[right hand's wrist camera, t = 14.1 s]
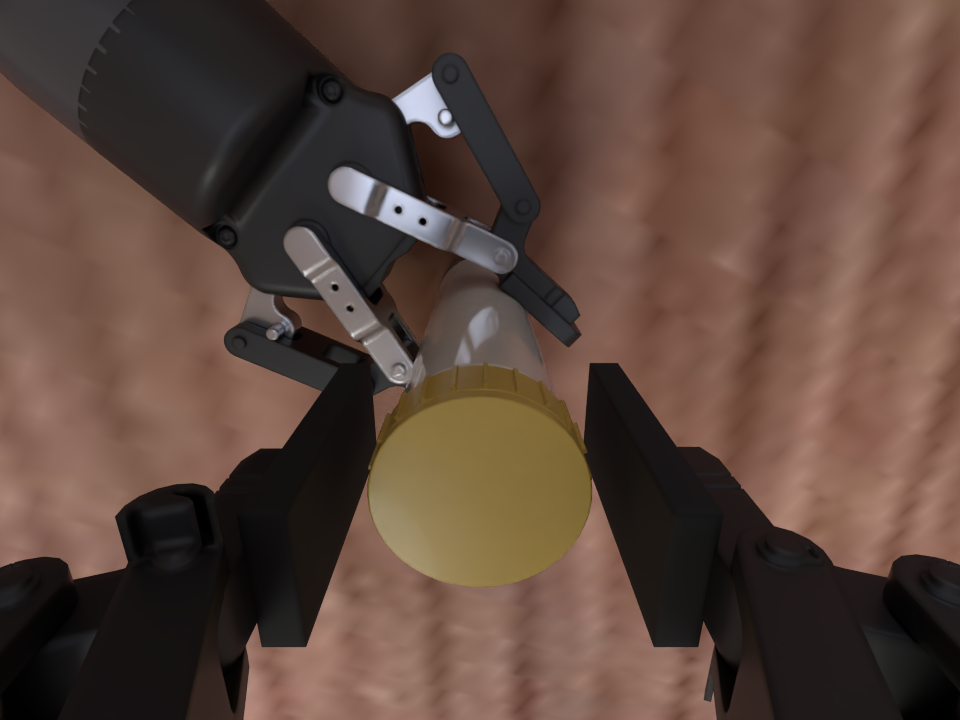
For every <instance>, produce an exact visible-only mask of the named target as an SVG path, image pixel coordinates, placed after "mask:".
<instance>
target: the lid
mask: <svg viewBox="0 0 960 720" xmlns="http://www.w3.org/2000/svg"><path fill="white" fill-rule="evenodd" d="M376 443H377V444H376V447H375V450H374V452H373V455H372V458H371V461H370V463H369V467H368V470H370V473H369V479H368V493H367V497H368V504H369V510H370V513H371V516H372V520H373V522H374V524H375V527H376V529H377V531H378V533H379V534H380V536H381V538H382V539H383V541H384V542H385V544H386V545H387V546H388V547H389V548H390V549H391V551H392V552H393V553H394V554H395V555H396V556H398V557H399V558H400V559H401V560H402V561H403V562H405V563H406V564H407V565H409V566H410V567H412V568H413V569H415V570H417V571H418V572H420V573H422V574H424V575H426V576H429V577H431V578H433V579H436V580H439V581H442V582H446V583H449V584H454V585H460V586H468V587H492V586H499V585H506V584H510V583H514V582H518V581H521V580H523V579H526V578H529V577H531V576H533V575H535V574H537V573H539V572H541V571H543V570H545V569H546V568H548V567H549V566H551V565H552V564H554V563H555V562H556V561H557V560H558V559H560V558H561V557H562V556H563V555H564V554H565V553H566V552H567V551H568V550H569V549H570V548H571V547H572V545H573V544H574V543H575V541H576V540H577V538H578V537H579V535H580V533H581V532H582V530H583V528H584V526H585V523H586V521H587V518H588V515H589V512H590V506H591V501H592V483H591V480H592V475H591V472H590V469H589V467H588V464H587V461H586V458H585V456H584V454H585V453H587V450H586V447H585V444H584V442H583V439H582V436H581V434H580V431H579V428H578V426H577V423H572V421H571V418H570V415H569V412H568V409H567V407H566V404H565V402H564V401H563V399H562V400H560V401H559V400H558V399H557V398H556V397H555V395H554V394H552V393H551V392H550V391H549V390H548V389H547V388H546V386H545V383H544V382H543V381H542V380H541V381H540V382H539V383H538V382H537V381H535V380H534V379H532V378H530V377H528V376H526V375H524V374H522V373H519V370H518V369H517V368H513V370H510V369H506V368H501V367H496V366H488V363H487V362H483V365H477V366H464V367H458V365H453V367H452V369H450V370H447V371H443V372H441V373H438V374H436V375H434V376H431V377H430V376H429V375H426V376H425V377H424V380H423V382H421V383H419V384H418V385H417V386H415V387H414V388H413V389H412V390H410V391H409V392H408V393H406V392H405V391H404V392H403V393H402V395H401V397H400V400H399V403H398V404H397V406H396V407H395V409H394V410H393V412H392V414H389V413H387V415H386V418H385V420H384V423H383V425H382V428H381V431H380V433H379V436H378V439H377V441H376Z"/></svg>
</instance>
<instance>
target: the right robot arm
mask: <svg viewBox="0 0 960 720" xmlns="http://www.w3.org/2000/svg"><path fill="white" fill-rule="evenodd" d="M584 444H585V447H586V450H587V453H585V454H584V456H585V458H586V461H587V464H588V467H589V469H590V472H591V475H592V478H593V480H594V483H595V486H596V489H597V491H598V494H599V497H600V500H601V502H602V505H603V508H604V511H605V513H606V516H607V519H608V522H609V524H610V527H611V530H612V533H613V535H614V538H615V541H616V544H617V547H618V549H619V552H620V555H621V558H622V560H623V563H624V566H625V569H626V571H627V574H628V577H629V580H630V582H631V585H632V588H633V591H634V593H635V596H636V599H637V602H638V604H639V607H640V610H641V613H642V615H643V618H644V621H645V624H646V626H647V629H648V632H649V635H650V637H651V640H652V643H653V646H654V647H698V645H699V640H700V635H701V630H702V625H703V621H704V623H705V625H706V627H707V629H708V631H709V633H710V635H711V637H712V639H713V641H714V643H715V645H714V650H713V655H712V660H711V664H710V669H709V674H708V679H707V684H706V688H705V695H704V700H706V701H710V702H711V699H712V695H713V690H714V699H715V708H716V717H717V720H960V565H959V564H956V563H953V562H951V561H946V560H944V559H940V558H936V557H930V556H924V555H917V554H915V555H906V556H901V557H899V558H898V559H897V560H895V561H894V562H893V564H892V567H891V570H890V573H889V576H888V578H887V577H882V576H877V575H873V574H868V573H863V572H858V571H854V570H849V569H844V568H841V567H837V566H834V565H833V563H832V561H831V560H830V558H829V557H828V556H827V554H826V553H825V552H824V550H823V549H821V548H820V547H819V546H817V545H816V544H815V543H813V542H812V541H811V540H809V539H807V538H805V537H803V536H801V535H799V534H797V533H795V532H793V531H790V530H786V529H782V528H779V527H775V526H773V524H772V523H771V522H770V521H769V520H768V518H767V517H766V516H765V515H764V514H763V512H762V511H761V510H760V509H759V507H758V506H757V505H756V504H755V503H754V501H753V500H752V499H751V498H750V496H749V495H748V494H747V493H746V492H745V490H744V489H741V485H740V484H739V483H738V482H737V481H736V479H735V478H734V477H731V473H730V472H729V471H728V470H727V468H726V467H725V466H724V465H723V463H722V462H721V461H720V460H719V459H718V458H716V457H715V456H713V455H711V454H710V453H708V452H707V451H705V450H704V449H702V448H700V447H676V445H675V444H674V442H673V441H672V440H671V438H670V437H669V435H668V434H667V432H666V431H665V430H664V428H663V427H662V425H661V424H660V423H659V421H658V420H657V418H656V417H655V415H654V414H653V413H652V411H651V410H650V408H649V407H648V405H647V404H646V403H645V401H644V400H643V398H642V397H641V396H640V394H639V393H638V391H637V390H636V388H635V387H634V386H633V384H632V383H631V381H630V380H629V378H628V377H627V376H626V374H625V373H624V371H623V370H622V369H621V367H620V366H619V364H618V363H590V367H589V380H588V393H587V406H586V418H585V431H584ZM375 447H376V431H375V418H374V406H373V393H372V380H371V367H370V363H342V364H341V366H340V367H339V369H338V370H337V371H336V373H335V374H334V376H333V377H332V379H331V380H330V381H329V383H328V384H327V386H326V387H325V388H324V390H323V391H322V393H321V394H320V396H319V397H318V398H317V400H316V401H315V403H314V404H313V405H312V407H311V408H310V410H309V411H308V413H307V414H306V415H305V417H304V418H303V420H302V421H301V423H300V424H299V425H298V427H297V428H296V430H295V431H294V432H293V434H292V435H291V437H290V438H289V440H288V441H287V442H286V444H285V445H284V447H283V448H282V449H259V450H258V451H256V452H255V453H253V454H252V455H250V456H248V457H247V458H245V459H244V460H242V461H241V462H240V463H239V464H238V466H237V467H236V468H235V469H234V471H233V472H232V473H231V474H230V475H229V478H227V479H226V480H225V482H224V483H223V484H222V485H221V487H220V490H219V491H216V493H215V494H214V492H213V491H212V490H210V489H209V488H208V487H207V486H203V485H198V484H193V483H191V484H175V485H171V486H167V487H163V488H159V489H156V490H153V491H151V492H148V493H146V494H144V495H141V496H139V497H138V498H136V499H134V500H133V501H131V502H130V503H128V504H127V505H125V506H124V507H123V508H122V509H121V511H120V512H119V513H118V514H117V515H116V516H115V518H116V522H117V525H118V529H119V532H120V536H121V539H122V542H123V546H124V549H125V553H126V556H127V560H128V564H127V566H126V568H124V569H121V570H117V571H112V572H108V573H103V574H98V575H94V576H89V577H84V578H80V579H75V580H73V578H72V576H71V573H70V570H69V567H68V564H67V563H65V562H64V561H62V560H61V559H60V558H52V557H39V558H33V559H26V560H22V561H18V562H15V563H13V564H12V563H11V564H9V565H6V566H3V567H1V568H0V720H243V718H244V709H245V701H246V692H247V683H248V674H249V661H248V655H247V650H246V644H247V642H248V640H249V638H250V636H251V634H252V632H253V630H254V628H255V626H256V623H257V625H258V630H259V635H260V640H261V645H262V647H306V646H307V643H308V640H309V637H310V635H311V632H312V629H313V626H314V624H315V621H316V618H317V615H318V613H319V610H320V607H321V604H322V602H323V599H324V596H325V593H326V591H327V588H328V585H329V582H330V580H331V577H332V574H333V571H334V569H335V566H336V563H337V560H338V558H339V555H340V552H341V549H342V547H343V544H344V541H345V538H346V535H347V533H348V530H349V527H350V524H351V522H352V519H353V516H354V513H355V511H356V508H357V505H358V502H359V500H360V497H361V494H362V491H363V489H364V486H365V483H366V480H367V478H368V475H369V472H370V470H368V467H369V463H370V461H371V458H372V455H373V452H374V450H375Z"/></svg>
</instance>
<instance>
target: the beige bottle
mask: <svg viewBox="0 0 960 720" xmlns="http://www.w3.org/2000/svg"><path fill="white" fill-rule="evenodd" d="M483 362H487V363H488V366H496V367H501V368H506V369H510V370H513V368H517V369H518V370H519V373H522V374H524V375H526V376H528V377H530V378H532V379H534V380H535V381H537V382H538V383H539V382H540V381H541V380H542V381H543V382H544V383H545V386H546V388H547V389H548V390H549V391H550V392H551V393H552V394H554V395H555V397H556V398H557V395H556V392H555V389H554V386H553V383H552V380H551V377H550V374H549V372H548V369H547V366H546V363H545V360H544V357H543V354H542V351H541V348H540V345H539V342H538V339H537V336H536V333H535V330H534V327H533V324H532V321H531V318H530V315H529V312H528V311H526V310H525V309H524V308H523V307H522V306H521V305H520V304H519V303H518V302H517V301H516V300H514V299H513V298H512V297H511V296H510V295H509V294H507V293H506V292H505V291H504V290H503V289H502V288H501V287H500V283H499V277H498V276H497V275H496V274H495V273H493V272H492V271H490V270H488V269H486V268H484V267H482V266H480V265H478V264H475V263H473V262H471V261H469V260H467V259H465V260H463V261H461V262H459V263H457V264H456V265H454V266H453V267H452V268H451V269H450V270H449V271H448V272H447V273H446V275H445V276H444V278H443V280H442V282H441V285H440V287H439V290H438V293H437V296H436V299H435V302H434V305H433V308H432V311H431V314H430V317H429V320H428V323H427V326H426V329H425V332H424V335H423V338H422V341H421V344H420V347H419V350H418V353H417V356H416V359H415V362H414V365H413V368H412V371H411V373H410V376H409V379H408V382H407V385H406V388H405V392H406V393H408V392H409V391H410V390H412V389H413V388H414V387H415V386H417V385H418V384H419V383H421V382H423V380H424V377H425V376H426V375H429V376H430V377H431V376H434V375H436V374H438V373H441V372H443V371H447V370H450V369H452V367H453V365H458V367H464V366H477V365H483ZM557 399H558V398H557Z"/></svg>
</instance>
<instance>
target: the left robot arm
mask: <svg viewBox="0 0 960 720" xmlns="http://www.w3.org/2000/svg"><path fill="white" fill-rule="evenodd" d="M0 72H1V73H2V74H3V75H4V76H5V77H6V78H7V79H8V80H9V81H10V82H11V83H12V84H13V85H14V86H16V87H17V88H18V89H19V90H20V91H22V92H23V93H24V94H25V95H26V96H27V97H29V98H30V99H31V100H32V101H34V102H35V103H36V104H37V105H39V106H40V107H41V108H42V109H44V110H45V111H46V112H48V113H49V114H50V115H51V116H53V117H54V118H55V119H56V120H58V121H59V122H60V123H62V124H63V125H64V126H65V127H67V128H68V129H69V130H70V131H72V132H73V133H74V134H76V135H77V136H78V137H79V138H81V139H82V140H83V141H84V142H86V143H87V144H88V145H90V146H91V147H92V148H93V149H94V150H96V151H97V152H98V153H99V154H101V155H102V156H103V157H104V158H106V159H107V160H108V161H110V162H111V163H112V164H113V165H115V166H116V167H117V168H118V169H120V170H121V171H122V172H123V173H125V174H126V175H127V176H129V177H130V178H131V179H133V180H134V181H135V182H136V183H138V184H139V185H140V186H141V187H143V188H144V189H145V190H146V191H148V192H149V193H150V194H152V195H153V196H154V197H155V198H157V199H158V200H159V201H160V202H162V203H163V204H164V205H165V206H167V207H168V208H169V209H171V210H172V211H173V212H174V213H176V214H177V215H178V216H179V217H181V218H182V219H183V220H184V221H186V222H187V223H188V224H190V225H191V226H192V227H193V228H195V229H196V230H197V231H198V232H200V233H201V234H203V235H204V236H206V237H207V238H209V239H210V240H212V241H214V242H215V243H217V244H218V245H220V246H221V247H223V248H224V249H225V250H226V251H227V252H228V253H229V254H230V255H231V256H232V257H233V259H234V260H235V262H236V263H237V265H238V267H239V269H240V271H241V273H242V275H243V277H244V278H245V280H246V281H247V282H248V283H249V284H250V285H251V289H250V293H249V296H248V299H247V302H246V305H245V308H244V312H243V315H242V318H241V321H240V323H239V324H238V325H236V326H235V327H233V328H231V329H230V330H229V331H227V333H226V334H225V337H224V344H225V347H226V348H227V350H228V351H229V352H230V353H231V354H233V355H234V356H237V357H239V358H241V359H244V360H246V361H249V362H251V363H254V364H256V365H259V366H261V367H264V368H266V369H269V370H271V371H274V372H276V373H278V374H281V375H283V376H286V377H288V378H291V379H293V380H296V381H298V382H301V383H303V384H306V385H308V386H311V387H313V388H316V389H318V390H320V391H323V390H324V388H325V387H326V386H327V384H328V383H329V381H330V380H331V379H332V377H333V376H334V374H335V373H336V371H337V370H338V369H339V367H340V366H341V364H342V363H370V367H371V380H372V393H373V395H375V394H377V393H379V392H381V391H383V390H385V389H387V388H389V387H393V386H402V387H405V388H406V385H407V382H408V379H409V376H410V373H411V371H412V368H413V365H414V362H415V359H416V356H417V353H418V350H419V347H420V343H419V342H418V340H417V339H416V337H415V336H414V335H413V333H412V332H411V330H410V329H409V327H408V326H407V324H406V323H405V321H404V320H403V318H402V317H401V316H400V314H399V313H398V311H397V308H396V305H395V302H394V300H393V298H392V297H391V295H390V294H389V292H388V291H387V289H386V288H385V287H384V285H383V284H382V282H383V281H384V280H385V278H386V277H387V276H388V275H389V274H390V272H391V269H392V267H393V265H394V263H395V261H396V259H398V258H399V257H401V256H402V255H404V254H405V253H407V252H408V251H409V250H410V249H411V247H412V246H413V245H414V244H415V243H416V242H417V240H418V239H419V240H421V241H424V242H426V243H428V244H430V245H432V246H434V247H436V248H438V249H441V250H443V251H446V252H451V253H454V254H456V255H459V256H461V257H463V258H465V259H467V260H469V261H471V262H473V263H475V264H478V265H480V266H482V267H484V268H486V269H488V270H490V271H492V272H493V273H495V274H496V275H497V276H498V277H499V283H500V287H501V288H502V289H503V290H504V291H505V292H506V293H507V294H509V295H510V296H511V297H512V298H513V299H514V300H516V301H517V302H518V303H519V304H520V305H521V306H522V307H523V308H524V309H525V310H526V311H528V312H529V313H530V314H531V315H532V316H533V317H534V318H535V319H536V320H538V321H539V322H540V323H541V324H542V325H543V326H544V327H545V328H546V329H548V330H549V331H550V332H551V333H552V334H553V335H554V336H555V337H557V338H558V339H559V340H560V341H561V342H562V343H563V344H564V345H566V346H567V347H570V346H571V345H572V344H573V343H574V342H575V341H576V340H577V339H578V338H579V337H580V336H581V335H582V334H581V333H580V331H579V329H578V328H577V326H576V324H575V323H574V321H575V320H576V319H577V318H578V317H579V316H580V314H579V311H578V309H577V307H576V305H575V303H574V301H573V300H572V298H571V297H570V296H569V294H568V293H567V292H565V291H564V290H563V289H562V288H561V287H560V286H559V285H558V284H557V283H556V282H555V281H554V280H553V279H551V278H550V277H549V276H548V275H547V274H546V273H545V272H544V271H543V270H542V269H541V268H540V267H539V266H538V265H536V264H535V263H534V262H533V261H532V260H531V259H530V258H529V257H528V256H527V255H526V254H525V251H524V242H525V238H526V236H527V234H528V231H529V229H530V227H531V224H532V222H533V221H534V220H535V219H536V218H537V216H538V214H539V212H540V200H539V198H538V196H537V194H536V192H535V191H534V189H533V187H532V185H531V183H530V181H529V179H528V177H527V176H526V174H525V172H524V170H523V168H522V166H521V164H520V162H519V161H518V159H517V157H516V155H515V153H514V151H513V149H512V148H511V146H510V144H509V142H508V140H507V138H506V136H505V134H504V133H503V131H502V129H501V127H500V125H499V123H498V121H497V120H496V118H495V116H494V114H493V112H492V110H491V108H490V106H489V105H488V103H487V101H486V99H485V97H484V95H483V93H482V91H481V90H480V88H479V86H478V84H477V82H476V80H475V78H474V77H473V75H472V73H471V71H470V69H469V67H468V65H467V63H466V62H465V60H464V59H463V58H462V57H461V56H459V55H457V54H455V53H446V54H443V55H441V56H440V57H438V58H437V59H436V61H435V62H434V64H433V67H432V72H431V73H430V74H429V75H427V76H426V77H424V78H423V79H421V80H420V81H418V82H417V83H415V84H414V85H413V86H411V87H410V88H408V89H407V90H405V91H404V92H402V93H401V94H400V95H398V96H397V97H395V98H394V99H392V100H391V99H390V98H388V97H386V96H384V95H382V94H379V93H375V92H370V91H367V90H364V89H362V88H360V87H358V86H356V85H355V84H354V83H353V82H352V81H351V80H349V79H348V78H347V77H346V76H345V75H344V74H343V73H342V72H341V71H340V70H339V69H338V68H337V67H335V66H334V65H333V64H332V63H331V62H330V61H329V60H328V59H327V58H326V57H325V56H324V55H323V54H322V53H321V52H319V51H318V50H317V49H316V48H315V47H314V46H313V45H312V44H311V43H310V42H309V41H308V40H307V39H306V38H305V37H303V36H302V35H301V34H300V33H299V32H298V31H297V30H296V29H295V28H294V27H293V26H292V25H291V24H290V23H289V22H287V21H286V20H285V19H284V18H283V17H282V16H281V15H280V14H279V13H278V12H277V11H276V10H275V9H274V8H273V7H271V6H270V5H269V4H268V3H267V2H266V1H265V0H0ZM418 123H422V124H426V125H428V126H430V127H431V128H432V130H433V131H434V132H435V133H436V134H437V135H438V136H440V137H441V138H444V139H453V138H456V137H458V136H459V135H461V134H462V135H463V137H464V139H465V140H466V142H467V144H468V146H469V147H470V149H471V151H472V153H473V155H474V156H475V158H476V160H477V162H478V164H479V165H480V167H481V169H482V171H483V172H484V174H485V176H486V178H487V180H488V181H489V183H490V185H491V187H492V188H493V190H494V192H495V194H496V196H497V197H498V199H499V201H500V203H501V206H500V208H499V211H498V213H497V216H496V218H495V221H494V223H493V226H492V227H491V226H489V225H487V224H485V223H483V222H480V221H478V220H476V219H474V218H472V217H470V216H468V215H467V214H465V213H464V212H462V211H460V210H458V209H456V208H454V207H452V206H450V205H448V204H446V203H444V202H442V201H440V200H438V199H436V198H434V197H432V196H430V195H428V194H426V190H425V186H424V181H423V177H422V173H421V169H420V165H419V160H418V156H417V152H416V148H415V144H414V139H413V135H412V131H411V127H410V126H412V125H414V124H418ZM282 296H286V297H295V298H305V299H315V300H324V301H326V303H327V304H328V306H329V307H330V308H331V310H332V311H333V312H334V314H335V315H336V317H337V318H338V319H339V321H340V322H341V323H342V325H343V326H344V328H345V329H346V330H347V332H348V333H349V334H350V336H351V337H352V338H353V339H354V340H355V341H357V342H360V343H362V344H363V346H364V347H365V348H366V350H367V351H368V352H369V354H370V355H369V354H366V353H364V352H362V351H359V350H357V349H355V348H352V347H350V346H347V345H345V344H343V343H340V342H338V341H336V340H333V339H331V338H328V337H326V336H324V335H321V334H319V333H317V332H314V331H312V330H309V329H307V328H305V327H302V323H301V319H300V317H299V315H298V314H297V313H296V312H294V311H293V310H291V309H290V308H288V307H287V306H286V304H285V303H284V301H283V298H282ZM350 305H351V306H353V308H351V307H350Z"/></svg>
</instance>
